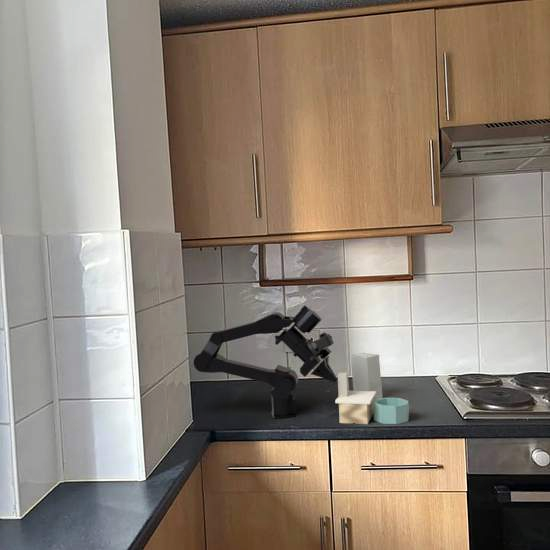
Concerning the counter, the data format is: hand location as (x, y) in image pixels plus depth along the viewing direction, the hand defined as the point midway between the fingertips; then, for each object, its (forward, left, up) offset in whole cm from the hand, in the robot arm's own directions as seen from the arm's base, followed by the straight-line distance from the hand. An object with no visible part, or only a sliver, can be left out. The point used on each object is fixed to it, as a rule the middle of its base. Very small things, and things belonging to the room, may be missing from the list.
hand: (336, 381), depth 176 cm
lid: (+5, -3, -5) cm, 8 cm away
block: (+5, -3, -11) cm, 12 cm away
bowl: (+14, -7, -11) cm, 19 cm away
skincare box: (+15, +17, -11) cm, 25 cm away
